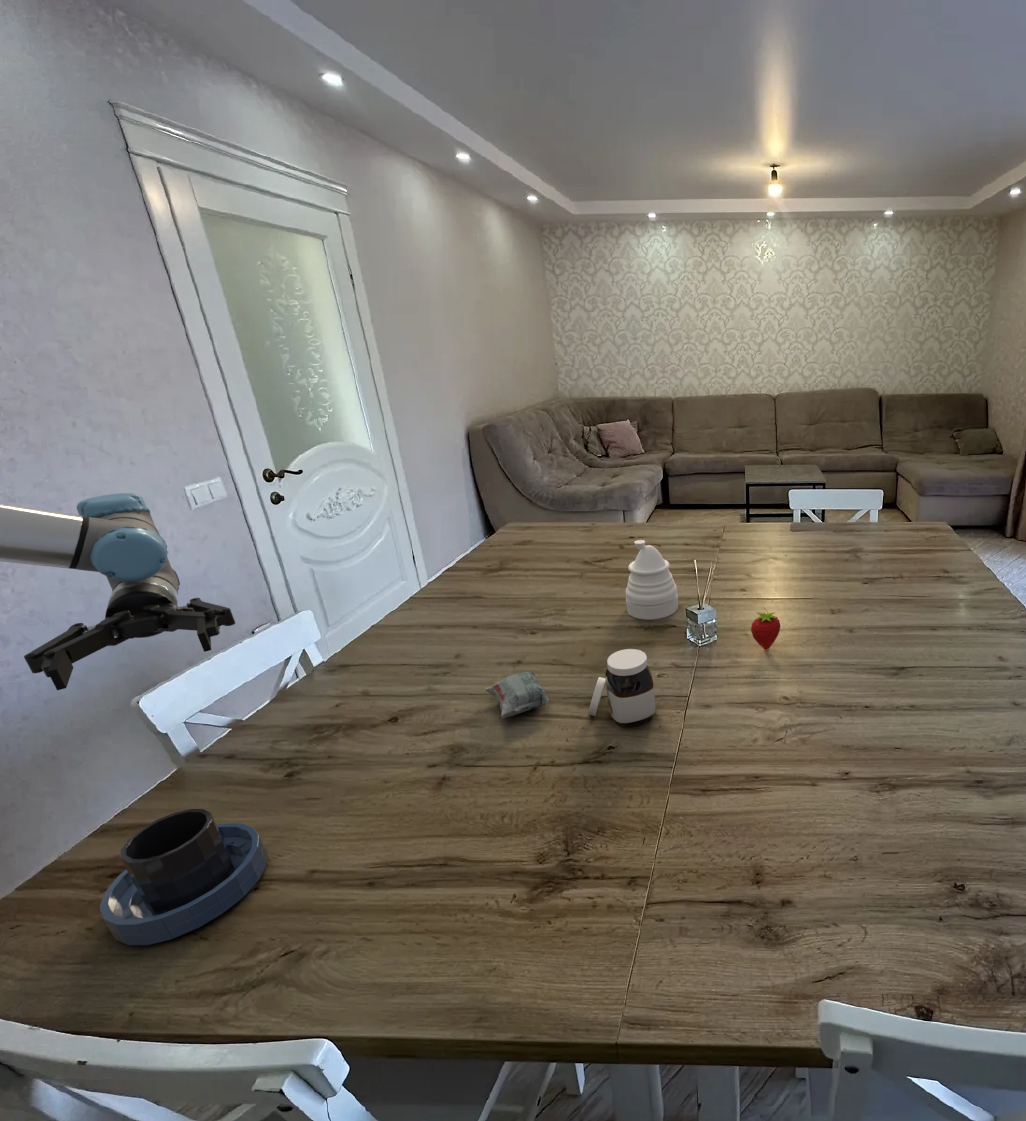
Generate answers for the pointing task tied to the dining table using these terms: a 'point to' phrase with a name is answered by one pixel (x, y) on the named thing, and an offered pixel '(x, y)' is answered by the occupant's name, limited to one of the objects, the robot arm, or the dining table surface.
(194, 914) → the plate
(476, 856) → the dining table surface
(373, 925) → the dining table surface
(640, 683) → the spread jar
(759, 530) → the dining table surface
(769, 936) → the dining table surface
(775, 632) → the strawberry
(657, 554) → the honey pot
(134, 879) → the coffee cup
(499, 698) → the packaged food
